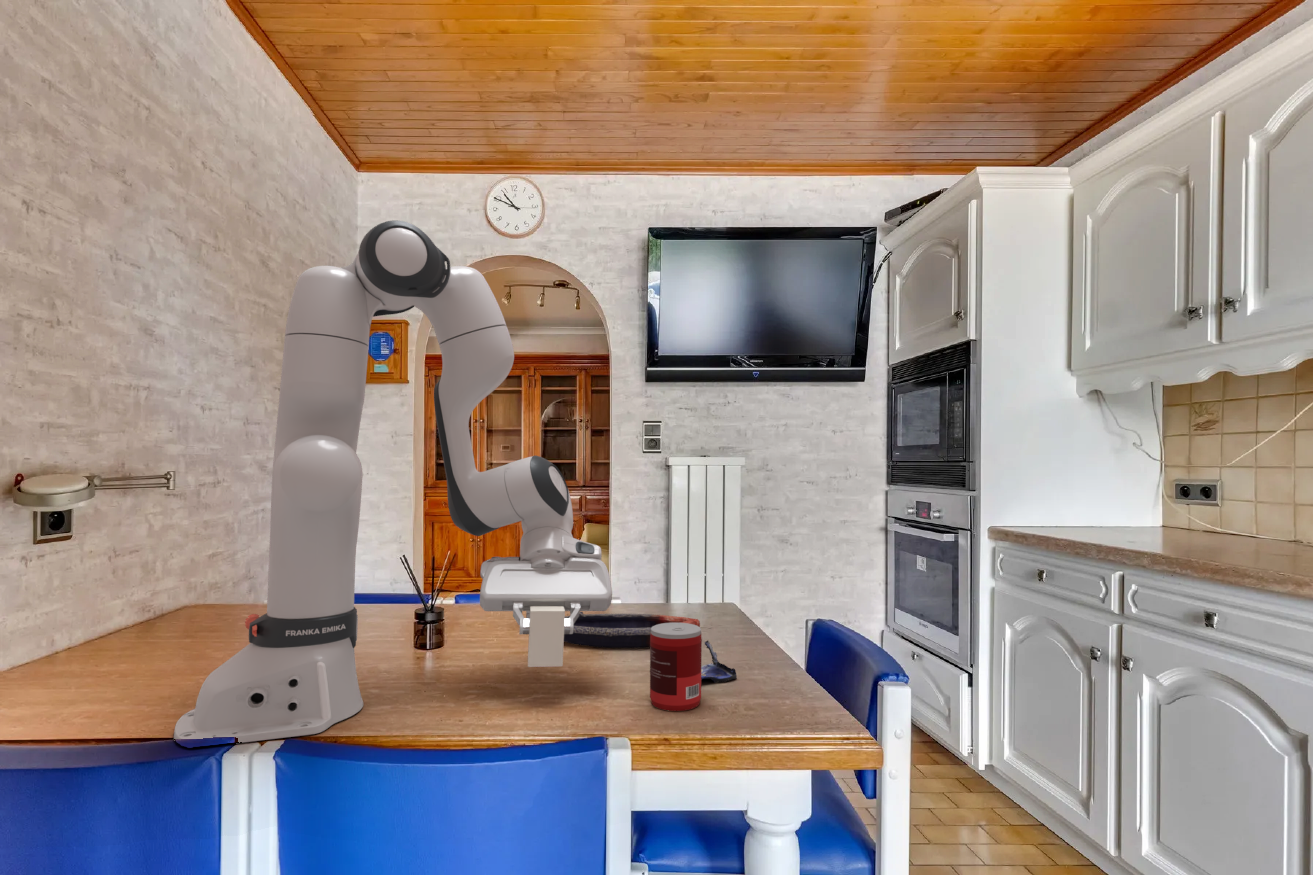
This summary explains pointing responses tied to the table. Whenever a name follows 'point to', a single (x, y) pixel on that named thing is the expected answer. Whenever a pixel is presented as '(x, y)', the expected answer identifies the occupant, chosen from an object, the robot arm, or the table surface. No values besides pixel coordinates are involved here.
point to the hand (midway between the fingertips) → (546, 632)
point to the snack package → (717, 669)
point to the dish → (618, 629)
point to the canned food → (675, 666)
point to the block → (546, 636)
